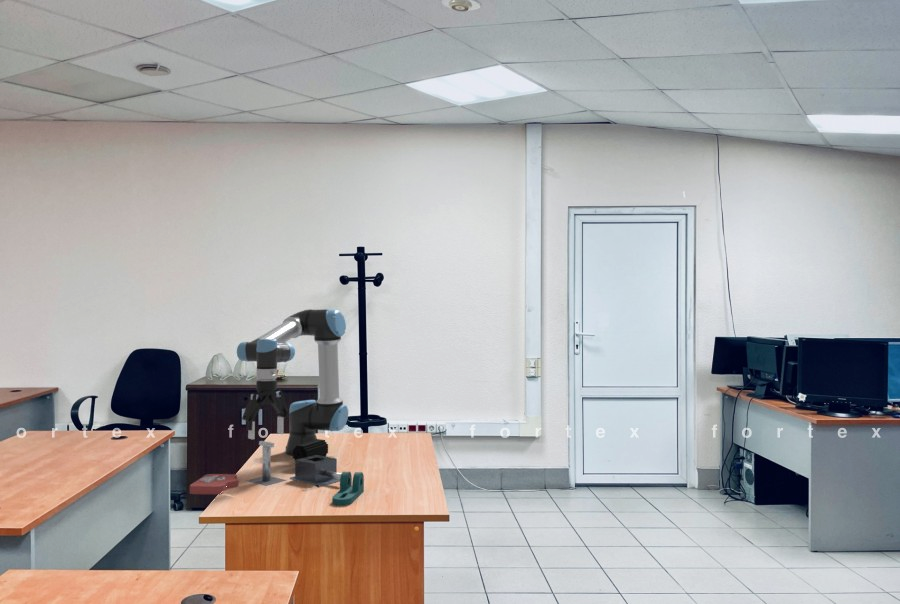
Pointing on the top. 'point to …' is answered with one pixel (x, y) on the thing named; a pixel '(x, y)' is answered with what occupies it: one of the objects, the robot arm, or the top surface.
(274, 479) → the mat
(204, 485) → the plaque
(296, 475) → the hollow square block
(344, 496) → the bracket
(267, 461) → the silver grey long piece
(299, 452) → the security camera
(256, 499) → the top surface
